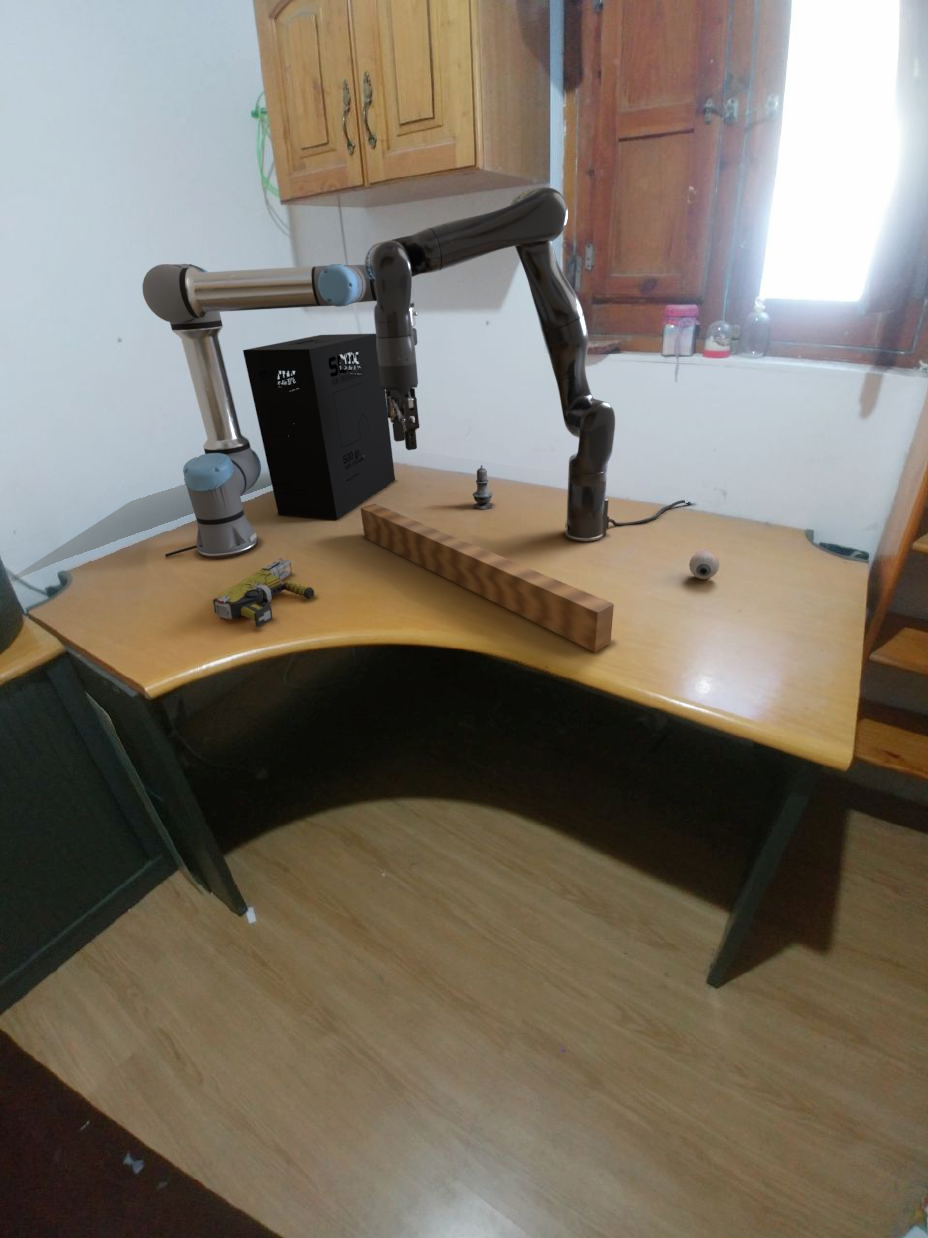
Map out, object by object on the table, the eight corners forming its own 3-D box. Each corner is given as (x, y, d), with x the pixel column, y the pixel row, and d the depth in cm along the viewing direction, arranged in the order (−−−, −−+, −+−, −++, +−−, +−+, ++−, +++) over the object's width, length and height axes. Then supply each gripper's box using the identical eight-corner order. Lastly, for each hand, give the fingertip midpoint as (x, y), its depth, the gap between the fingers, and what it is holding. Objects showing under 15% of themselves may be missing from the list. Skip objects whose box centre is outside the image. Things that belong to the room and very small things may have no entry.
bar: (610, 643, 110) (614, 603, 106) (594, 652, 107) (597, 612, 103) (378, 532, 163) (374, 503, 159) (364, 537, 161) (360, 507, 157)
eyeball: (686, 582, 128) (690, 556, 125) (688, 570, 133) (692, 545, 130) (716, 586, 126) (721, 559, 123) (717, 573, 131) (722, 547, 128)
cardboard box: (342, 476, 210) (320, 334, 187) (395, 480, 203) (378, 333, 180) (278, 514, 179) (242, 350, 157) (337, 519, 173) (309, 349, 150)
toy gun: (334, 567, 137) (277, 555, 141) (271, 613, 117) (207, 598, 121) (335, 586, 139) (279, 574, 143) (273, 634, 119) (211, 619, 123)
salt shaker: (491, 509, 174) (490, 468, 168) (471, 508, 175) (469, 468, 169) (494, 502, 179) (493, 462, 173) (475, 502, 180) (473, 462, 174)
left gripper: (411, 331, 132) (419, 430, 143) (420, 323, 154) (427, 409, 164) (377, 333, 132) (388, 432, 143) (391, 324, 154) (400, 410, 165)
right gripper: (426, 363, 113) (433, 449, 121) (404, 356, 125) (412, 435, 133) (388, 367, 111) (397, 455, 119) (369, 359, 123) (379, 440, 131)
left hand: (409, 420), depth 154 cm, fingers open, 13 cm apart
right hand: (405, 444), depth 126 cm, fingers open, 8 cm apart
